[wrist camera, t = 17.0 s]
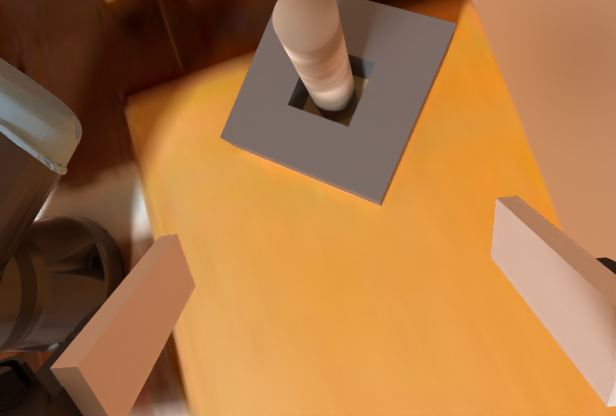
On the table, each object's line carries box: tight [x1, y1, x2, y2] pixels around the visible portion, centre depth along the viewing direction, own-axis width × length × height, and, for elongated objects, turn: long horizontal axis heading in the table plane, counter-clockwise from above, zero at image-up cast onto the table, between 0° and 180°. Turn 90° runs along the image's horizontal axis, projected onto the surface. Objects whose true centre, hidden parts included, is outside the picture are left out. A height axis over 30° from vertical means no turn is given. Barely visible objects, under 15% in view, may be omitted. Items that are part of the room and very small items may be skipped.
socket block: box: [220, 0, 457, 207], centre depth 33 cm, size 16×16×5 cm
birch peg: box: [272, 0, 357, 122], centre depth 27 cm, size 4×4×14 cm
